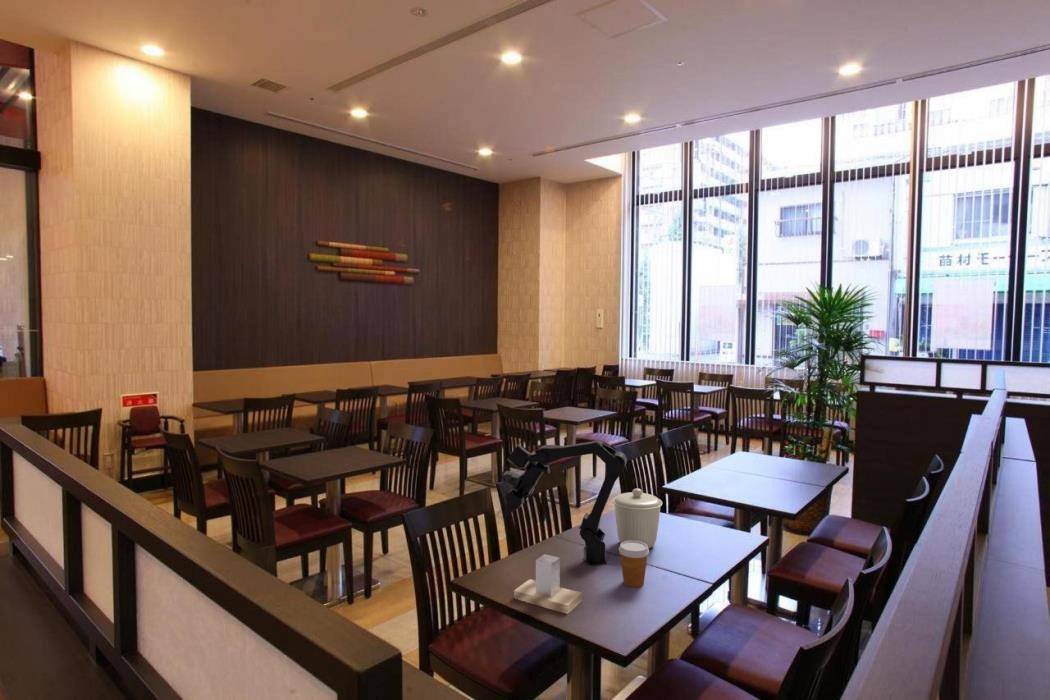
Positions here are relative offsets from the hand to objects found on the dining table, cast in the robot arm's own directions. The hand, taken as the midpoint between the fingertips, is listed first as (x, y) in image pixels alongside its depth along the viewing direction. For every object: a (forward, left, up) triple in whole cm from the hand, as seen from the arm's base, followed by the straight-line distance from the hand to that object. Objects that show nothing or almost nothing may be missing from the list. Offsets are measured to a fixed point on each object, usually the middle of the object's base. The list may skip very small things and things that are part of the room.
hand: (508, 511), depth 213 cm
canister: (-47, +5, -15) cm, 50 cm away
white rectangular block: (-4, +39, -12) cm, 41 cm away
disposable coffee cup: (-33, +34, -15) cm, 50 cm away
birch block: (-4, +39, -15) cm, 41 cm away
